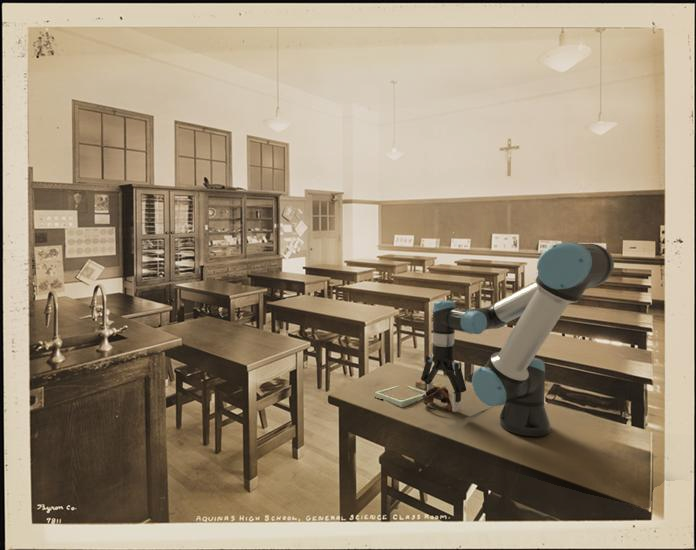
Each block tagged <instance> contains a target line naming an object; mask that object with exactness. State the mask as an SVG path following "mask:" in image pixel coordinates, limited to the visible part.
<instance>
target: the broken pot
mask: <svg viewBox="0 0 696 550" xmlns="http://www.w3.org/2000/svg"><path fill="white" fill-rule="evenodd" d="M425 394H426V396H425ZM425 394H424V395H423V396H422V397H423V399H422V401H423V403H422V404H423V405H425V406H428V404H432V405H434V402H435V401H434V400H438V401H440V402H441V403H443V404H446V408H447V410H448V412H450V411H452V402H451V399H450V396H449V395H450V394H449V390H448V389H447V387H446V388H441V389H440V387H434V388H432V389H430V390H428V391H427V392H426V393H425Z"/></svg>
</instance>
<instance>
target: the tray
mask: <svg viewBox="0 0 696 550" xmlns="http://www.w3.org/2000/svg"><path fill="white" fill-rule="evenodd" d="M397 386H398V387H399V385H396V386H392V387H388V388H385V389H381V390H378V391H377V390H376V391H375V392H374V395H376V396H378V397H380V398H382V399H384V400H385V401H387V402H389V403H390V402H391V403H390V404H392V403H393V404H392V405H394V404H395V405H394V406H396V405H397V406H396V407H398V406H399V408H404V407H407V406H410V405H411V404H414V403H417V402H420V401H421V399H422V400H424V399H423V397H422V396H423V395H424V394H425V393H426V391H425V390H422V389H420V388H417V387H413V386H411V385H407V386H408V387H409V388H408V387H407V388H408V389H410V388H411V390H412V389H413V390H412V391H415V390H416V392H417V391H418V392H417V393H419V392H421V393H423V394H421V393H420V394H418V395H415V396H411V397H409V398H404V399H405V400H398V399H399V398H396V397H392V396H391V397H389V396H387V395H384V394H382V393H384V392H387V391H389V390H392V389H394V388H397ZM374 395H373V396H374ZM425 396H426V394H425ZM416 401H417V402H416ZM409 404H410V405H409Z"/></svg>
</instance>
